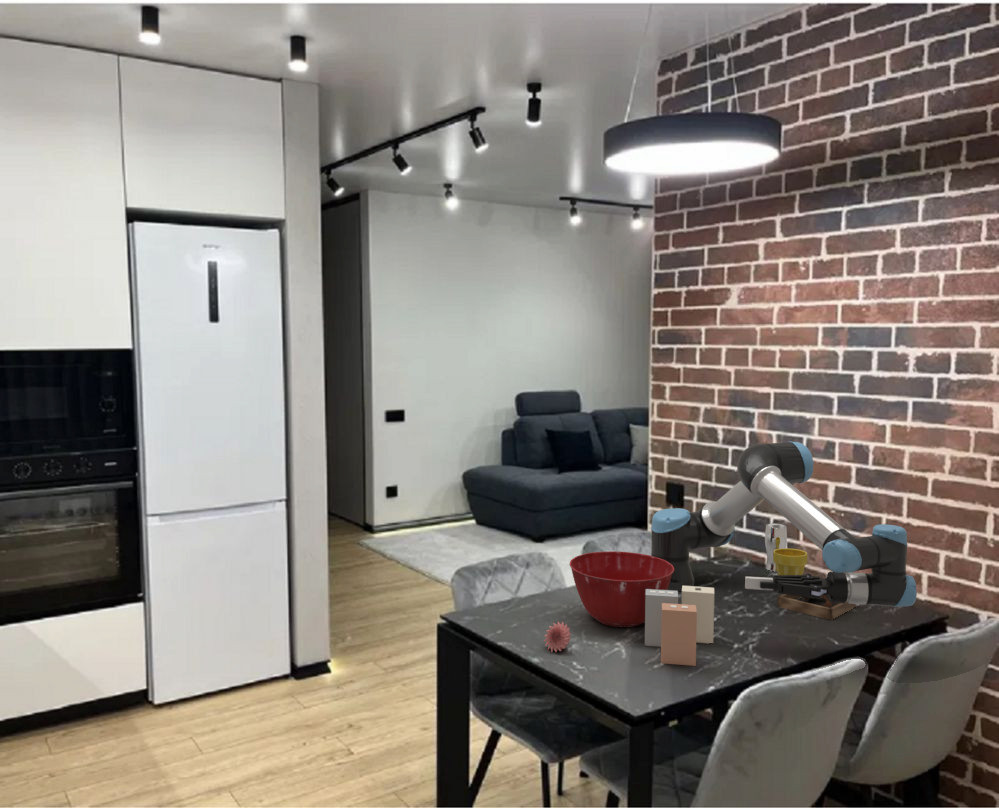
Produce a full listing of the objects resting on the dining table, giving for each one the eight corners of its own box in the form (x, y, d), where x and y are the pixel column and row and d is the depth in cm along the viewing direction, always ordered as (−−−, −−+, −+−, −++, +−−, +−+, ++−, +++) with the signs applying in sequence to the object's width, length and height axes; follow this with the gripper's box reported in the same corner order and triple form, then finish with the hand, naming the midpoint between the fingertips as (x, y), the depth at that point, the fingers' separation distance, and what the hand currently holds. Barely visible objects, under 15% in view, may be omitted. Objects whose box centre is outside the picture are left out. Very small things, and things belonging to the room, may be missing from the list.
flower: (567, 619, 205) (555, 612, 201) (584, 641, 199) (572, 633, 195) (545, 641, 205) (533, 634, 202) (561, 664, 199) (550, 657, 196)
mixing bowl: (692, 618, 223) (693, 563, 222) (635, 646, 203) (636, 586, 201) (608, 596, 243) (609, 545, 241) (548, 619, 222) (548, 564, 221)
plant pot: (765, 578, 261) (766, 548, 261) (794, 576, 264) (795, 546, 263) (784, 587, 251) (785, 557, 251) (813, 585, 254) (814, 554, 253)
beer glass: (783, 573, 267) (784, 528, 266) (761, 570, 271) (763, 526, 270) (788, 568, 273) (789, 525, 272) (767, 565, 277) (768, 522, 275)
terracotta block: (661, 663, 192) (662, 608, 191) (661, 655, 197) (661, 602, 196) (695, 665, 190) (696, 611, 189) (694, 657, 195) (695, 604, 194)
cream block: (680, 641, 206) (681, 590, 205) (681, 634, 211) (682, 584, 210) (713, 643, 204) (714, 592, 203) (712, 636, 209) (714, 587, 208)
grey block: (644, 645, 203) (645, 594, 202) (644, 638, 208) (645, 588, 207) (677, 647, 202) (678, 596, 201) (676, 640, 207) (677, 590, 206)
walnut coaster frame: (777, 606, 233) (777, 596, 233) (805, 593, 246) (805, 583, 246) (832, 620, 222) (832, 609, 222) (858, 605, 234) (859, 595, 234)
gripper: (851, 611, 191) (748, 605, 196) (838, 594, 204) (742, 589, 208) (852, 580, 191) (749, 575, 195) (839, 565, 204) (742, 561, 208)
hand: (745, 582), depth 202 cm, fingers closed
